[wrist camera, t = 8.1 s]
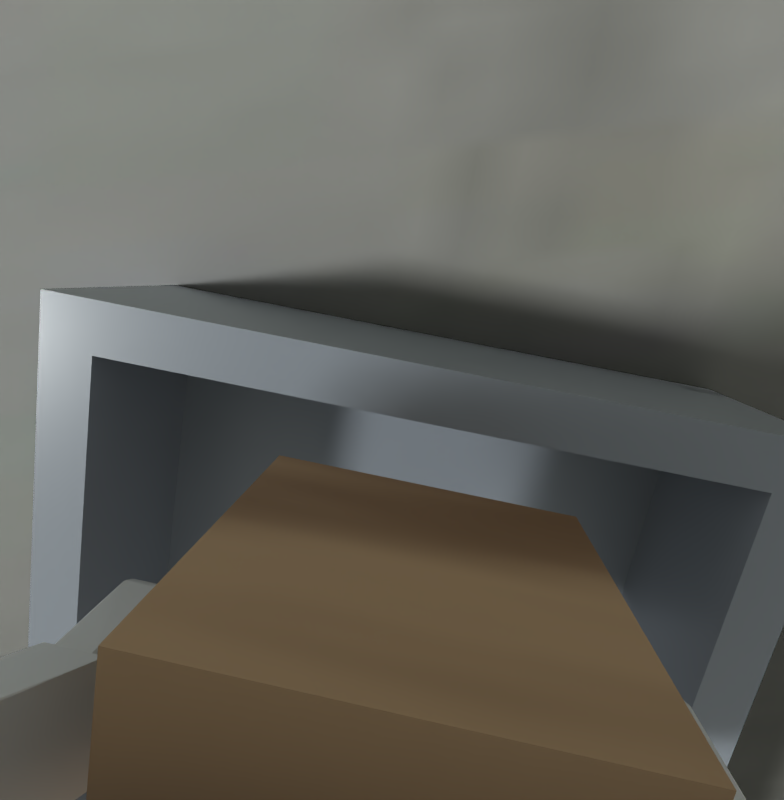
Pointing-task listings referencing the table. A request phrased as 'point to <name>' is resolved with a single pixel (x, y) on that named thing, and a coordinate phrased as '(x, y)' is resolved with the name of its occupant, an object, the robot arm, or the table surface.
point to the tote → (401, 460)
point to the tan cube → (389, 659)
